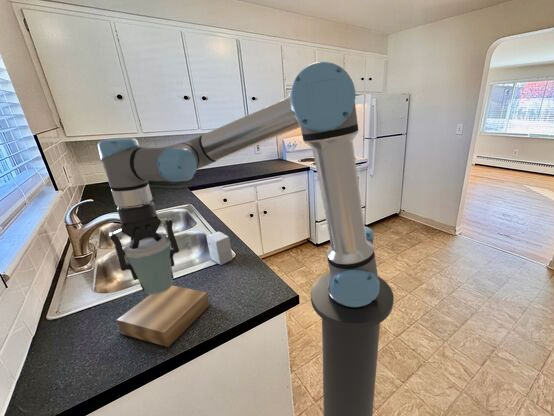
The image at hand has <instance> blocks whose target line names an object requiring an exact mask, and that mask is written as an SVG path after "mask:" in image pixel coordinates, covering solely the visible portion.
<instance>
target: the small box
mask: <svg viewBox="0 0 554 416" xmlns="http://www.w3.org/2000/svg"><path fill="white" fill-rule="evenodd" d="M229 236H230V235H226V234H225V233H223V232H221V231H216V232H213V233H211V234H208V235H206V237H205V238H206V241H207V247H208V251H209V252H208V253H209V257H210V259H211V260H213V261H214V262H215V263H217V264H218V265H219V266H222V265H224V264H226V263H228V262H231V261H233V260H234V257H233V252H232V246H231V240H230V237H229Z"/></svg>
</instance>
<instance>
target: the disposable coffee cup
mask: <svg viewBox="0 0 554 416" xmlns="http://www.w3.org/2000/svg"><path fill="white" fill-rule="evenodd" d="M156 233H157V234H158V235H159V237H160V238H161V239H160V240H159V241H158V242H156V240H155V239H154V238H153V237H149V238H144V239H142V240H140V241H139V245H138V248H136V249H132V248H131V247H130V244H131V240H130V241H129V242H127V243H126V245H125V246H124V248H122V249H123V253H124V257H125V260H126V261H127V263H129V264H131V266H132V267H133V269H134V272H135V273H136V275H137V277H138V279H137V281H138V282H139V284H142V286H143V287H144V289H145V290H143V291H144V292H145V293H146V294H147V295H148V296H149V295H156V294H160V293H163V292H165V291H167V290H168V289H169V288H170V287H171V285H173V279H172V273H173V271H172V272H171V269H172V267H173V266H171V258H170V249H171V245H170V243H171V242H170V240H169V238H168V236H167V233H164V232H162V231H161V232H156ZM172 270H173V269H172Z"/></svg>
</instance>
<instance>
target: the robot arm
mask: <svg viewBox="0 0 554 416" xmlns="http://www.w3.org/2000/svg"><path fill="white" fill-rule="evenodd" d="M355 88H356V87H355V84H354V82H353V79H352V78H351V76H350V75H349V73H348V72H347V71H346V70H345V68H343V67H341V65H338V64H336V63H334V62H329V61H317V62H314V63H311V64H309V65H307V66H305V67H304V68H303V69H302V70H300V71H299V73H298V74H297V75H296V76H295V78H294V80H293V83H292V85H291V90H290V92H289V95H288V97H286V98H283V99H281V100H279V101H277V102H274V103H272V104H270V105H268V106H266V107H263V108H260V109H258V110H256V111H253V112H252V113H249V114H247V115H245V116H243V117H240V118H237V119H236V120H233V121H231V122H228V123H227V124H225V125H224V124H223V125H222V126H220V127H218V128H215V129H213V130H210V131H208V132H206V133H204V134H202V135H199V136H197V137H194V138H192V139H190V140H187V141H184V142H179V143H175V144H171V145H166V146H161V147H160V146H159V147H141V145H140V144H139V141H138V139H136V138H135V137H113V138H105V139H102V140H99V141H98V143H97V147H98V152H99V157H100V162H101V163H102V166H103V169H104V172H105V175H106V178H107V181H108V184H109V188H110V192H111V194H112V198H113V201H114V204H115V206H117V208H116V210H117V214H118V217H119V220H120V224H121V225H120V227H119V229H118V230H116V231H110V232H109V233H108V237H109V239H110V241H112V243H113V246H114V250H115V254H116V258H117V262H118V266H119V269H120V270H121V271H122V272H125V271H129V272H130V273H131V277H132V279H133V280H134V281H136V280H137V281H138V277H137V275H136V273H135V272H134V269H133V267H132V266H131V264H129V262H126V257H125V255H124V253H123V249H124V248H123V244H122V241H121V240H122V239H123V234H124V235H126V236H127V237H129V238H130V241H131V244H130V247H131V248H132V249H136V248H138V245H139V241H140V240H142V239H144V238H149V237H153V238H154V239H155V240H156V242H158V241H159V240H160V239H161V238H160V237H159V235H158V234H157V233H158V232H157V231H158V229H159V227H160V225H161V226H162V227H163V228H164V229H165V234H166V236H167V237H168V238H169V240H170V242H171V243H170V258H171V266H172V267H175V260H174V255H175V254H178V253H179V252H180V248H179V245H178V243H177V239H176V236H175V233H174V231H173V220H172V219H171V218H170V217H166V218H159V217H158V214H157V210H156V205H155V203H154V201H153V199H154V197H153V193H152V191H151V187H150V184H149V181H150V182H170V183H171V182H174V183H177V182H187V181H190V180H192V179H193V178H194V175H195V174H196V172H197V170H199V169H202V168H205V167H207V166H209V165H211V164H213V163H216V162H219V161H220V160H223V159H225V158H228V157H231V156H233V155H235V154H237V153H240V152H243V151H245V150H247V149H250V148H252V147H255V146H257V145H260V144H262V143H265V142H268V141H270V140H272V139H275V138H278V137H280V136H282V135H285V134H287V133H290V132H292V131H294V130H297V129H299V128H300V132H301V135H302V136H301V137H302V141H303V143H305V144H306V145H307V146H309V147H310V148H311V149H312V154H313V160H314V165H315V169H316V175H317V179H318V186H319V190H320V197H321V200H322V205H323V211H324V215H325V221H326V226H327V232H328V236H329V241H330V246H329V247H328V248H327V250H326V259H327V264H328V268H329V272H330V274H331V280H330V282H329V283H328V289H327V290H328V295H329V297H330V299H331V300H332V301H333V302H334V303H335V304H337V305H339V306H341V307H344V308H348V309H359V308H363V307H366V306H368V305H370V304H371V303H372V302H373V301H374V302H375V303H377V302H378V301H377V300H376V299H375V298H376V297H377V296H378V293H379V286H380V281H379V279H378V276H379V274H378V268H377V261H376V252H375V246H374V240H375V237H374V231H373V229H372V228H370V227H368V226H365V221H364V211H363V205H362V199H361V191H360V183H359V177H358V170H357V163H356V155H355V150H354V149H355V148H354V142H353V141H354V139H355V138H356V137H357V135H358V134H359V131H360V130H359V124H358V123H359V122H358V116H357V107H356V89H355ZM171 272H172V280H173V279H174V278H175V277H174V274H173V269H171ZM139 284H140V283H139ZM139 286H140V287H141V289H142V291H144V290H145V289H144V287H143V286H142V284H140V285H139Z"/></svg>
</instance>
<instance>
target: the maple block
mask: <svg viewBox="0 0 554 416" xmlns="http://www.w3.org/2000/svg"><path fill="white" fill-rule="evenodd" d="M209 306H210V302H209V297H208V292H206V291H202V290H197V289H191V288H186V287H182V286H177V285H173V284H172V285H171V287H170V288H169V289H168V290H167V291H165V292H163V293H160V294H156V295H149V294H148V296H146V297H145V298H143V300H141V301H140V302H138V303H137V304H135V305H134V306H133V307H132V308H131V309H129V310H128V311H126V312H125V313H124V314H122V315H121V316H120V317H118V318H116V323H117V325H118V328H119V331H120V333H121V335H124V336H127V337H130V338H131V337H132V338H135V339H138V340H142V341H146V342H149V343H153V344H156V345H159V346H162V347H163V346H164V347H166V348H169V347H171V345H172V344H174V342H176V340H177V339H179V337H180V336H181V335H182V334H183V333H184V332H185V331H186V330H187V329H188V328H189V327H190V326H191V325H192V324H193V323H194V322H195V321H196V320H197V319H198V318H199V317H200V316H201V315H202V314H203V313H204V312H205V311H206V310H207V309H208V308H209Z"/></svg>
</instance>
